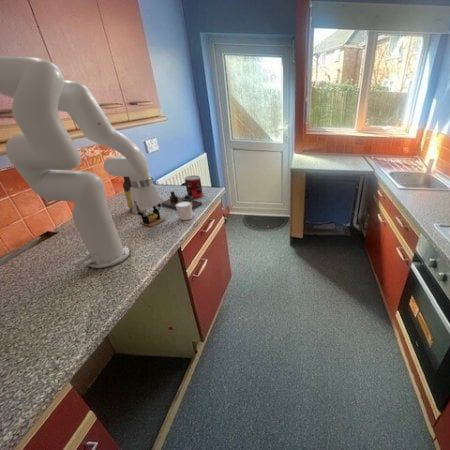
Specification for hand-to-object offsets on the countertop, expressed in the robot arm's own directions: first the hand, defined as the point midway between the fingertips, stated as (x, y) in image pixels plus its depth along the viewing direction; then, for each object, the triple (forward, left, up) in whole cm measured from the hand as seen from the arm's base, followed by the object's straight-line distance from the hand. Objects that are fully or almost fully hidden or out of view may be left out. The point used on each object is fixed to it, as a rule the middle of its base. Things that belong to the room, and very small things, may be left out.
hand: (152, 220), depth 113 cm
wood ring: (+20, -2, +3) cm, 20 cm away
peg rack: (+20, +3, -1) cm, 20 cm away
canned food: (+33, +6, -1) cm, 34 cm away
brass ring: (0, 0, +2) cm, 2 cm away
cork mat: (0, 0, -1) cm, 1 cm away
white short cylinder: (+10, -10, -1) cm, 14 cm away
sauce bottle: (+6, +18, -1) cm, 19 cm away
